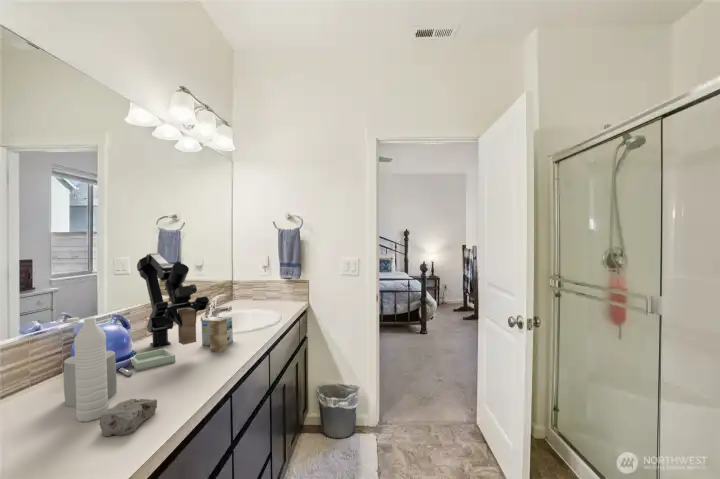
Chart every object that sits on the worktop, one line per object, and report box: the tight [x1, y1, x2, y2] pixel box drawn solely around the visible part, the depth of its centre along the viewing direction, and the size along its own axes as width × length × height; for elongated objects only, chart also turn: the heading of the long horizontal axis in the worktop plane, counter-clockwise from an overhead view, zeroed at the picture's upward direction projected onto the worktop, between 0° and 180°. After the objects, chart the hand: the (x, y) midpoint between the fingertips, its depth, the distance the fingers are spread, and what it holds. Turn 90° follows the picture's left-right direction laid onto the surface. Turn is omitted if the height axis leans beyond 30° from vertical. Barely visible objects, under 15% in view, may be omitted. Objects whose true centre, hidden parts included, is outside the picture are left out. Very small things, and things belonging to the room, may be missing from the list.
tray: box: [130, 347, 176, 372], centre depth 131 cm, size 12×12×2 cm
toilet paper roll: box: [63, 349, 118, 408], centre depth 103 cm, size 12×12×12 cm
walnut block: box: [177, 308, 197, 346], centre depth 133 cm, size 4×4×12 cm
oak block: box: [209, 318, 228, 352], centre depth 144 cm, size 4×4×12 cm
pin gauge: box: [118, 367, 133, 377], centre depth 120 cm, size 8×1×1 cm, turn 53°
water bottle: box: [66, 316, 109, 423], centre depth 92 cm, size 9×6×25 cm
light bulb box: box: [201, 316, 234, 346], centre depth 153 cm, size 11×7×11 cm, turn 84°
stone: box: [98, 398, 158, 437], centre depth 88 cm, size 13×6×10 cm
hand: (188, 324), depth 132 cm, fingers closed on walnut block, 4 cm apart
